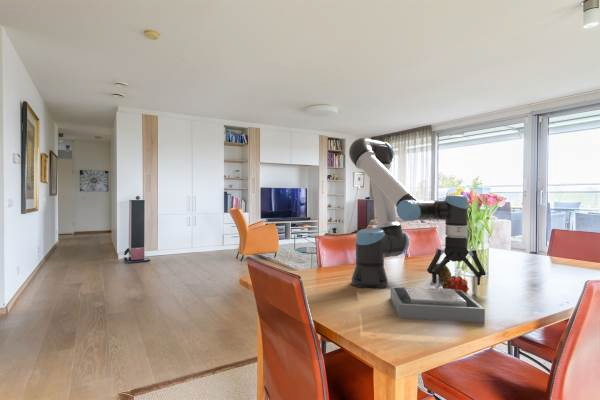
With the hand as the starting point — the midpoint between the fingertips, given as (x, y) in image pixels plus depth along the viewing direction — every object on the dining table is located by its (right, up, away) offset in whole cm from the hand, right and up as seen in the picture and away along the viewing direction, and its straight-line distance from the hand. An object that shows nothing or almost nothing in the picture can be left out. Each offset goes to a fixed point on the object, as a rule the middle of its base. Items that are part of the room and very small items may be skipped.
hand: (455, 293), depth 127 cm
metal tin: (-16, 0, -18) cm, 24 cm away
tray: (-16, -1, -18) cm, 24 cm away
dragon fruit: (0, -2, 0) cm, 2 cm away
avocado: (+6, -1, +24) cm, 25 cm away
